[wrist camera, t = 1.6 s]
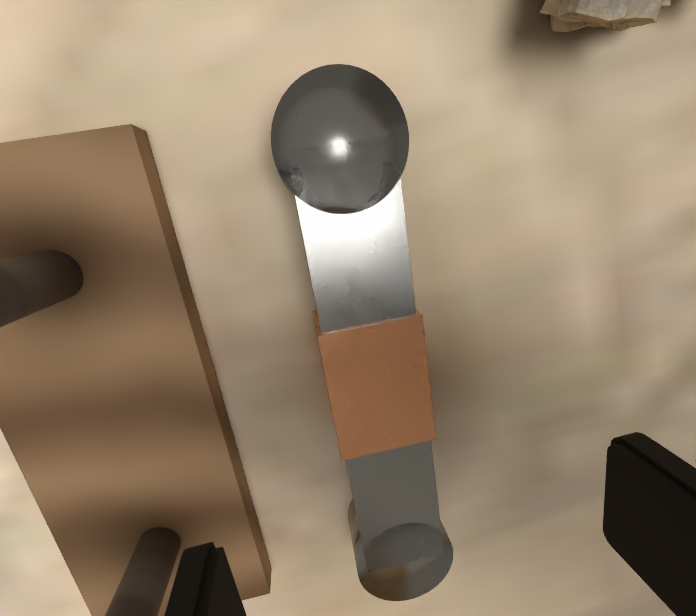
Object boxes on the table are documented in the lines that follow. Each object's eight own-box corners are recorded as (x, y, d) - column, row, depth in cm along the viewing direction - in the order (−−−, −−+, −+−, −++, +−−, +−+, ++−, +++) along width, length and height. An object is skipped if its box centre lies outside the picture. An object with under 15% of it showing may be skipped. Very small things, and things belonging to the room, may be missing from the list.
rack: (271, 568, 23) (257, 813, 14) (114, 607, 22) (-13, 896, 13) (145, 131, 16) (-52, 35, 7) (-89, 165, 15) (-672, 110, 6)
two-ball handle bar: (433, 532, 24) (458, 590, 20) (355, 552, 23) (366, 615, 20) (378, 84, 17) (402, 53, 13) (264, 101, 16) (256, 72, 13)
